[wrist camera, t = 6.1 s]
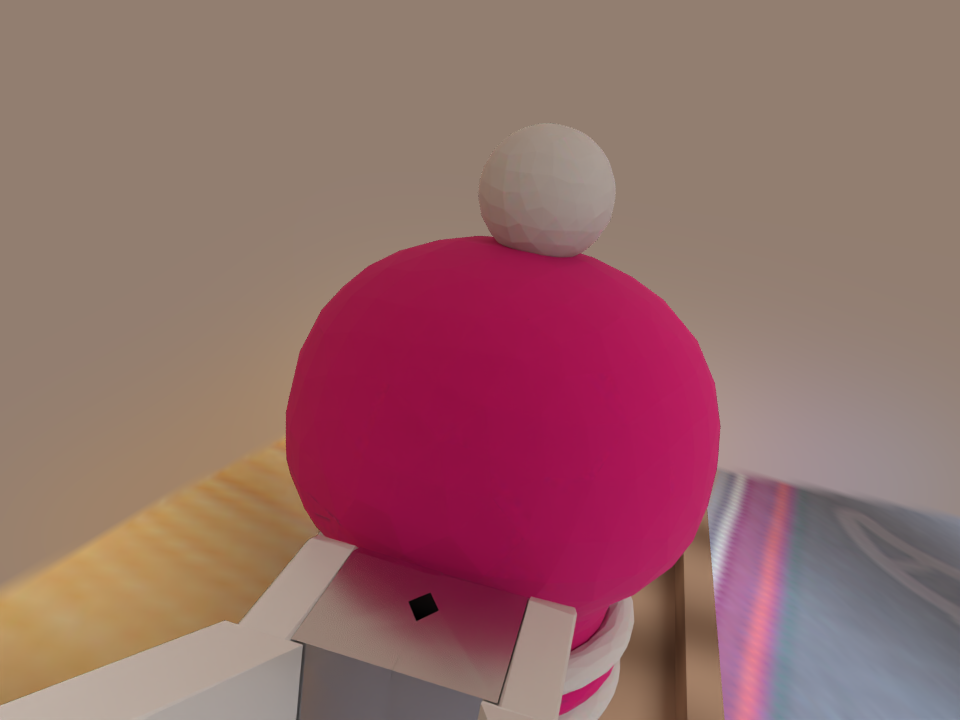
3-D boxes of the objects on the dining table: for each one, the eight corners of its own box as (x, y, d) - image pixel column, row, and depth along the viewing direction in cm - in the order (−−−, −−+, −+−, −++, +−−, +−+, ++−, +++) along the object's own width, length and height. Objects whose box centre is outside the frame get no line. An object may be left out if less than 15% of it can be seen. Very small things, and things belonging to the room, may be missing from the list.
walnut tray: (428, 453, 42) (434, 414, 42) (692, 523, 40) (704, 483, 39) (186, 798, 21) (187, 734, 20) (714, 994, 19) (741, 930, 18)
